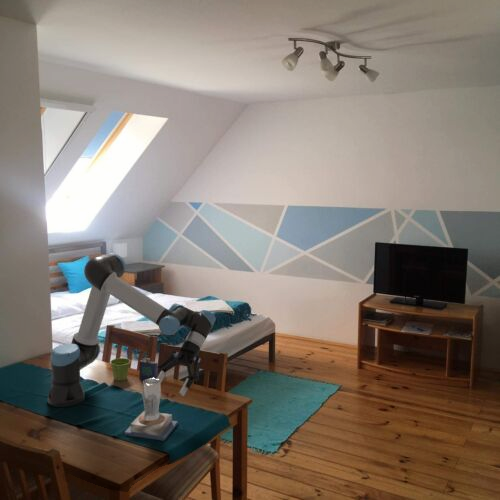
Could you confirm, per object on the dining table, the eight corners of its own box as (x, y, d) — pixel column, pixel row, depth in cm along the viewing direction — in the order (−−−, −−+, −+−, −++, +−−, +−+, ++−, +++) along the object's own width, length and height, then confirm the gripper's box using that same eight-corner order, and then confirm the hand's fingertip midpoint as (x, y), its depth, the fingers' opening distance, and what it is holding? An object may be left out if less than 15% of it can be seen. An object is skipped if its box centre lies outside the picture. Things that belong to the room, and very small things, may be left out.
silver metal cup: (156, 423, 206) (157, 385, 204) (139, 421, 208) (139, 383, 205) (163, 415, 213) (163, 378, 211) (146, 413, 214) (146, 377, 212)
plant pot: (134, 378, 262) (134, 360, 261) (120, 384, 255) (120, 366, 253) (120, 373, 267) (120, 356, 266) (106, 379, 260) (106, 362, 258)
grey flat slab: (124, 435, 206) (124, 432, 206) (140, 419, 219) (140, 416, 219) (164, 440, 202) (164, 437, 202) (177, 424, 216) (177, 421, 216)
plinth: (130, 431, 206) (130, 423, 206) (143, 417, 218) (143, 410, 217) (160, 435, 203) (160, 427, 203) (172, 421, 215) (172, 414, 215)
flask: (158, 379, 261) (158, 358, 260) (155, 381, 258) (155, 360, 257) (141, 377, 264) (140, 356, 262) (138, 379, 261) (137, 358, 259)
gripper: (220, 355, 223) (197, 402, 213) (174, 343, 236) (150, 387, 226) (212, 345, 218) (188, 393, 207) (166, 334, 231) (140, 378, 221)
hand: (168, 390), depth 217 cm, fingers open, 13 cm apart
